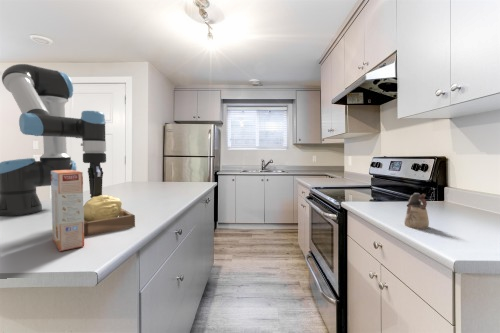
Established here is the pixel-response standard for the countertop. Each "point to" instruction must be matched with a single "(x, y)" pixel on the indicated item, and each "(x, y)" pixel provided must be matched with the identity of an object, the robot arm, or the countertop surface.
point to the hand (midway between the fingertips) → (96, 213)
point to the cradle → (110, 224)
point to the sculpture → (101, 208)
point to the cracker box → (67, 209)
